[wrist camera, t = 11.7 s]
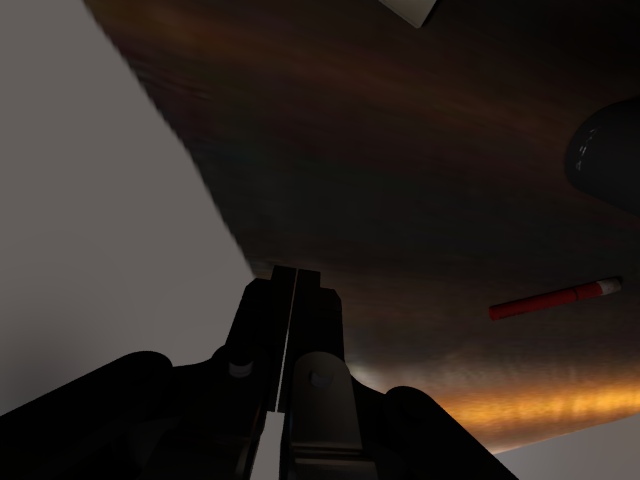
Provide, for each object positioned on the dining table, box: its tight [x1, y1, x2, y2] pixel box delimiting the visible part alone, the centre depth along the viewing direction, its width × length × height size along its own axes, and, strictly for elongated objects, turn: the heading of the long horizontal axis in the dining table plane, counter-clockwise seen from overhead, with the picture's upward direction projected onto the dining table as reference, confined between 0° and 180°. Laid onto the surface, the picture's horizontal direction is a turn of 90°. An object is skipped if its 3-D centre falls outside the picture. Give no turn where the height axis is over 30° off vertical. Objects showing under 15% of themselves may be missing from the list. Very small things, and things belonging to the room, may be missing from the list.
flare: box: [489, 278, 621, 321], centre depth 44 cm, size 2×15×2 cm, turn 104°
